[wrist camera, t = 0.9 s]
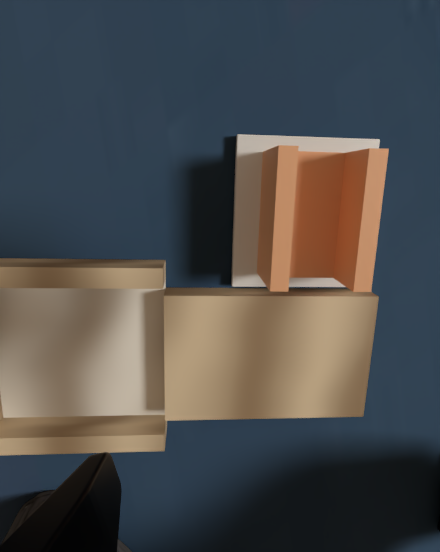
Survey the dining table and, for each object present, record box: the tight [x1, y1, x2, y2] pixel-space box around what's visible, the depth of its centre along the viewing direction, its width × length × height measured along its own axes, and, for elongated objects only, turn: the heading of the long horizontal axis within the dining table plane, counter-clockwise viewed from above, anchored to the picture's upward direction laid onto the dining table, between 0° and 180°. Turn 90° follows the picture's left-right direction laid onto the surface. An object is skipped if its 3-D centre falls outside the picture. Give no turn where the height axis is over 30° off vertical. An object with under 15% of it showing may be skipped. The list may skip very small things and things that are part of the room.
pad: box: [231, 134, 380, 287], centre depth 20 cm, size 7×8×1 cm
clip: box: [257, 145, 389, 292], centre depth 18 cm, size 4×6×4 cm
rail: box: [0, 258, 379, 455], centre depth 20 cm, size 21×10×2 cm, turn 89°
